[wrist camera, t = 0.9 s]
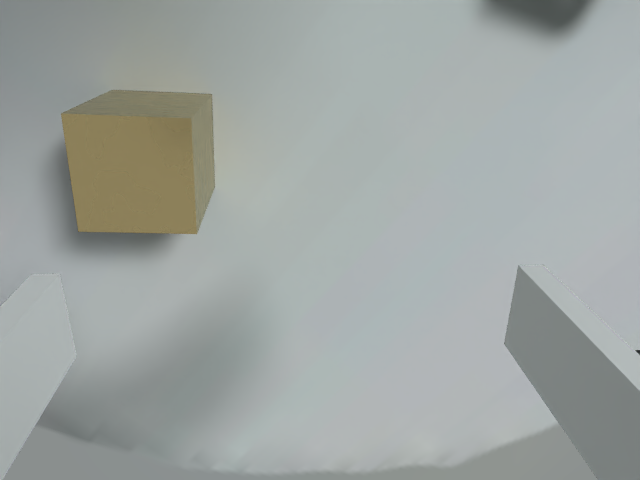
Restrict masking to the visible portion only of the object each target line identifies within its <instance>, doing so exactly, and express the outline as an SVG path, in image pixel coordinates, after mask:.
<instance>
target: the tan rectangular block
mask: <svg viewBox="0 0 640 480" xmlns="http://www.w3.org/2000/svg"><path fill="white" fill-rule="evenodd" d="M61 117H62V123H63V130H64V137H65V144H66V151H67V158H68V164H69V171H70V178H71V185H72V192H73V198H74V205H75V212H76V219H77V226H78V232H122V233H174V234H197V232H198V230H199V227H200V224H201V222H202V219H203V217H204V214H205V211H206V209H207V206H208V203H209V201H210V198H211V196H212V193H213V190H214V188H215V178H214V147H213V116H212V94H197V93H173V92H148V91H124V90H111V91H109V92H107V93H104V94H102V95H100V96H98V97H96V98H94V99H91V100H89V101H87V102H85V103H83V104H81V105H78V106H76V107H74V108H72V109H70V110H68V111H65V112H63V113H61Z"/></svg>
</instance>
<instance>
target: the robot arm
mask: <svg viewBox="0 0 640 480" xmlns="http://www.w3.org/2000/svg"><path fill="white" fill-rule="evenodd" d="M504 344H505V346H506V347H507V349H508V350H509V352H510V353H511V355H512V356H513V357H514V359H515V360H516V362H517V363H518V365H519V366H520V368H521V369H522V371H523V372H524V373H525V375H526V376H527V378H528V379H529V381H530V382H531V384H532V385H533V386H534V388H535V389H536V391H537V392H538V394H539V395H540V397H541V398H542V400H543V401H544V402H545V404H546V405H547V407H548V408H549V410H550V411H551V413H552V414H553V416H554V417H555V418H556V420H557V421H558V423H559V424H560V426H561V427H562V429H563V430H564V431H565V433H566V434H567V436H568V437H569V439H570V440H571V442H572V443H573V444H574V446H575V447H576V449H577V450H578V452H579V453H580V455H581V456H582V458H583V459H584V460H585V462H586V463H587V465H588V466H589V468H590V469H591V471H592V472H593V474H594V475H595V476H596V478H597V479H598V480H640V350H634V349H633V348H632V347H631V346H630V345H629V344H627V343H626V342H625V341H624V340H623V339H622V338H621V337H620V336H619V335H618V334H617V333H616V332H615V331H614V330H612V329H611V328H610V327H609V326H608V325H607V324H606V323H605V322H604V321H603V320H602V319H601V318H600V317H599V316H598V315H596V314H595V313H594V312H593V311H592V310H591V309H590V308H589V307H588V306H587V305H586V304H585V303H584V302H583V301H581V300H580V299H579V298H578V297H577V296H576V295H575V294H574V293H573V292H572V291H571V290H570V289H569V288H568V287H567V286H565V285H564V284H563V283H562V282H561V281H560V280H559V279H558V278H557V277H556V276H555V275H554V274H553V273H552V272H551V271H549V270H548V269H547V268H546V267H545V266H544V265H518V270H517V276H516V281H515V287H514V292H513V298H512V303H511V309H510V314H509V320H508V325H507V331H506V336H505V342H504ZM76 357H77V356H76V351H75V346H74V341H73V336H72V331H71V326H70V321H69V316H68V311H67V306H66V301H65V296H64V291H63V286H62V281H61V276H60V274H31V275H30V276H29V277H28V278H27V279H26V280H25V281H24V282H23V283H22V284H21V286H20V287H19V288H18V289H17V290H16V291H15V292H14V293H13V294H12V295H11V296H10V297H9V298H8V299H7V300H6V301H5V302H4V303H3V304H2V305H1V306H0V480H3V478H4V477H5V475H6V473H7V472H8V470H9V468H10V467H11V465H12V463H13V462H14V460H15V458H16V457H17V455H18V453H19V452H20V450H21V448H22V447H23V445H24V443H25V442H26V440H27V438H28V437H29V435H30V433H31V432H32V430H33V428H34V427H35V425H36V423H37V422H38V420H39V418H40V417H41V415H42V413H43V412H44V410H45V408H46V407H47V405H48V403H49V402H50V400H51V398H52V397H53V395H54V393H55V392H56V390H57V388H58V387H59V385H60V383H61V382H62V380H63V378H64V377H65V375H66V373H67V372H68V370H69V368H70V367H71V365H72V363H73V362H74V360H75V358H76Z"/></svg>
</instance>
